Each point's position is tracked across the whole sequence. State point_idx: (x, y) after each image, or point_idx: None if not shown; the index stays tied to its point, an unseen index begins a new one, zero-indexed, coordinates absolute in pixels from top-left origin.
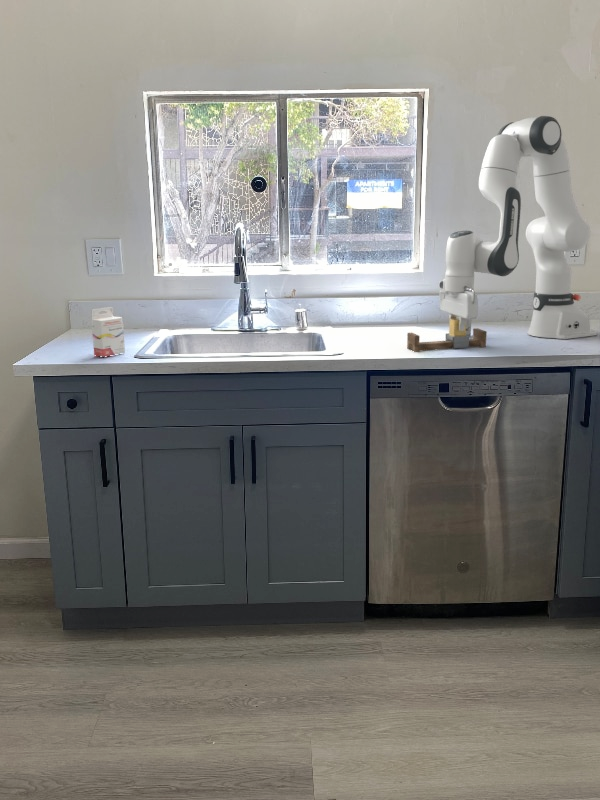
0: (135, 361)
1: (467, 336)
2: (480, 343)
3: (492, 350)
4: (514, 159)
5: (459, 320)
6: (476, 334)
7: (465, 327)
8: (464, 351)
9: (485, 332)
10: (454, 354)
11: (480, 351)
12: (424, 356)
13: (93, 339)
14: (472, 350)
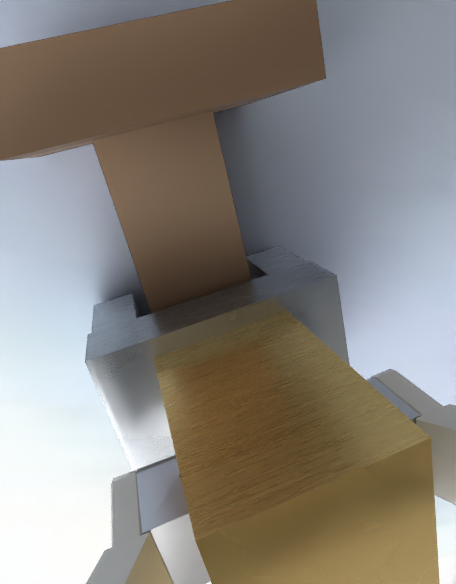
0: None
1: (339, 296)
2: (230, 107)
3: (394, 31)
4: None
5: (429, 538)
6: (130, 130)
7: (340, 364)
8: (379, 294)
9: (308, 13)
10: (450, 369)
11: (407, 164)
12: (450, 521)
13: None
14: (358, 225)
